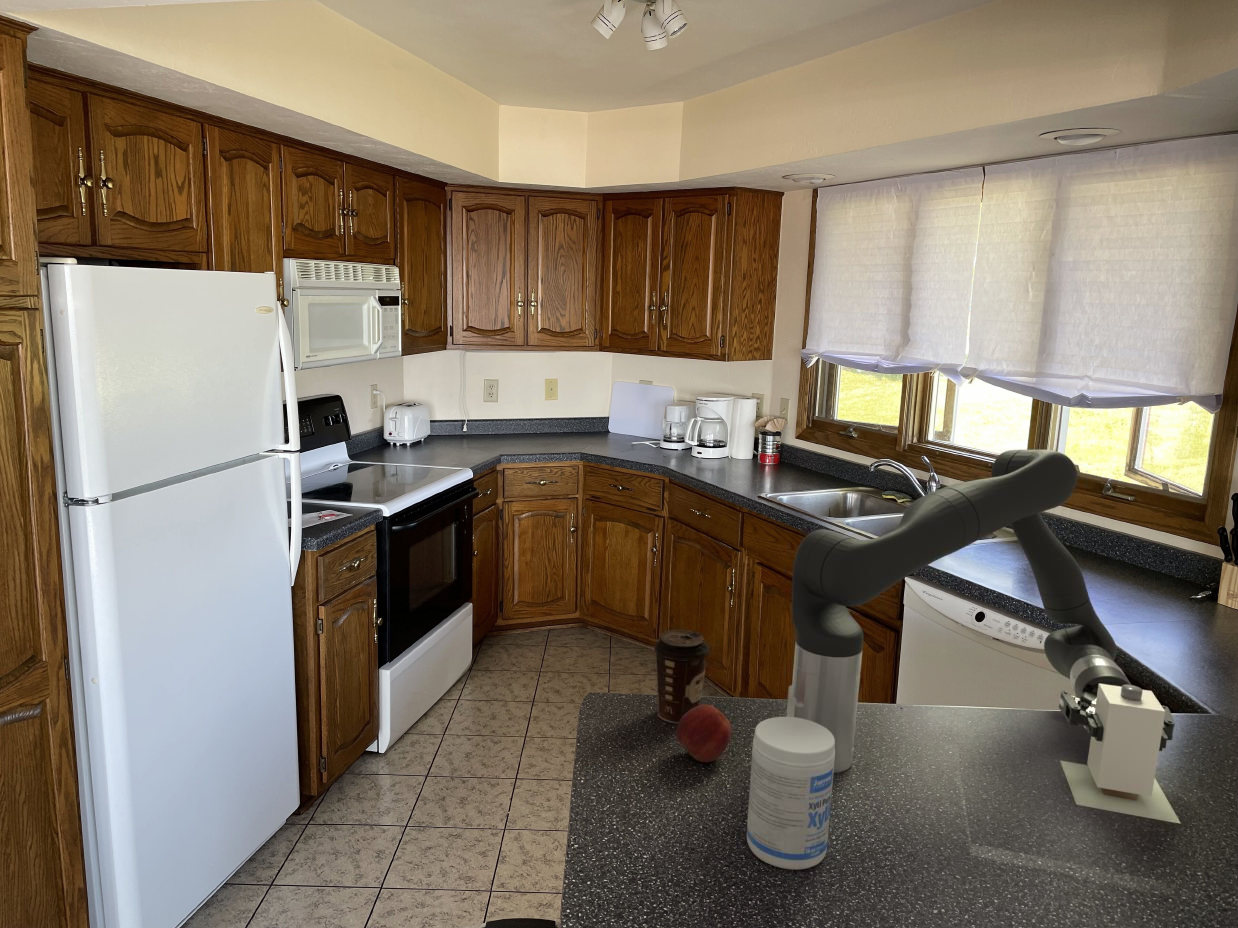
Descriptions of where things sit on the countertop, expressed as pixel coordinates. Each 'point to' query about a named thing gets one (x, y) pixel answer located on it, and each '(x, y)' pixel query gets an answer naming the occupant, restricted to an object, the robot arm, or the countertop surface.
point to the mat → (1094, 797)
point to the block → (1119, 794)
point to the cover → (1126, 739)
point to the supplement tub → (790, 792)
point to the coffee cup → (679, 672)
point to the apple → (704, 733)
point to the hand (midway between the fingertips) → (1130, 739)
